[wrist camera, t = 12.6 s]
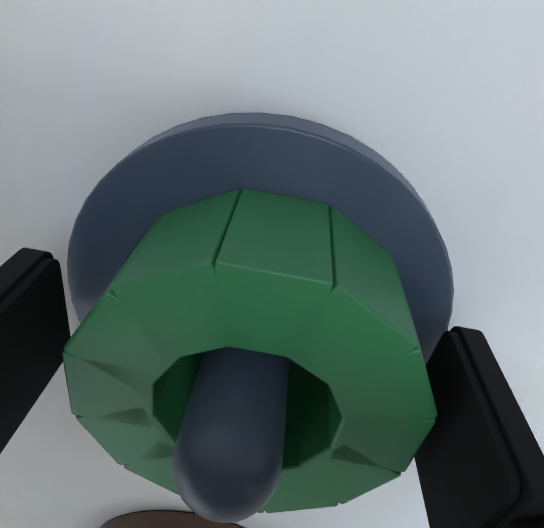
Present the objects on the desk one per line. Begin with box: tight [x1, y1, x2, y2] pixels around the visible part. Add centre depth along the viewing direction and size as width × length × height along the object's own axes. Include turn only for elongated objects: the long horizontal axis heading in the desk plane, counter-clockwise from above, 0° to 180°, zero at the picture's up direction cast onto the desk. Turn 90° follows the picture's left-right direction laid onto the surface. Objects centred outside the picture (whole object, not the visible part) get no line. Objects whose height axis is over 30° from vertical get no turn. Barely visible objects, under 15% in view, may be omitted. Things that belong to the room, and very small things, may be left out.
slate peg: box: [67, 113, 454, 523], centre depth 9 cm, size 10×10×6 cm
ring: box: [62, 188, 437, 513], centre depth 10 cm, size 7×7×3 cm
